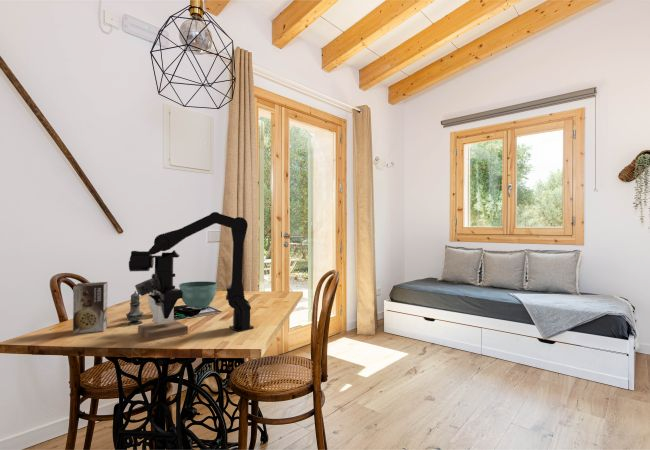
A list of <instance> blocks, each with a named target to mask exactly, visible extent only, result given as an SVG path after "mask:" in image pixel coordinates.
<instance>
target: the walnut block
mask: <svg viewBox="0 0 650 450" xmlns="http://www.w3.org/2000/svg"><path fill="white" fill-rule="evenodd" d="M188 328H189V326H188V325H186V324H184V323H182V322H180V321H177V320H176V319H174V321H173V322H169V323H163V324H156V323H155V322H152V323H146V324H145V323H144V324H138V325H137V334H138V335H140V336H142V337H143V338H144V339H146V340H147V341H149V342H153V341H154V342H155V341H157V340H158V341H159V340H163V339H164V340H165V339H169V338H174V337H179V336H183V335H188V330H189V329H188Z"/></svg>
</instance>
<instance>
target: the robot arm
mask: <svg viewBox="0 0 650 450" xmlns="http://www.w3.org/2000/svg"><path fill="white" fill-rule="evenodd" d="M215 224H217V225H220V226H224V227H226V228H230V232H231V238H232V261H231V262H232V264H231V266H232V267H231V280H230V281H231V283H230V285H226V295H225V300H226V301H228V302H227V303H228V306H229V307H230V308H231V309H233V312H232V325H229V327H228V328H230V329H231V330H234V331H237V332H241V331H245V330H250V329H254V328H255V326H253V325H251V309H252V306H251V304H250V302H249V301H248V300H247V299H246V297H245V291H244V285H243V269H244V267H243V266H244V265H243V264H244V243H245V239H246V235H247V231H248V226H249V225H248V221H247V220H246V218H244V217H241V216H238V217H237V216H236V217H232V216H229V215H225V214H223V213H220V212H219V211H218V212H217V211H213V212H211V213H210V214H208V215H207V216H204V217H201V218H200V219H198V220H196V221H194V222H191V223H190V224H187V225H185V226H183V227H181V228H179V229H176V230H175V229H174V230H171V231H167V232H164V233H161V234H158V235H157V236H155V238H154V241H153V245H152V246H151V247H150V248H149V249H148V251H147V250H145V251H144V250H143V251H142V250H140V251H139V250H132V251H131V252H130V257H129V261H128V269H129V272H150V270H151V269H153V268H154V273H152V275H151V278H149V279H147V280H146V279H145V280H144V281H142V282H140V283H138V284H136V285H134V287H135V289H136V290H135V291H136V293H137V294H138V295H139V296H141V297H143V296H146V295H148V296H150V297H151V298H152V299H154V301H155V303H162V306H163V313H164V318H165V319H167V318H168V317H169V315H170V313H171V311H172V309H173V307H175V305H176V303H177V302H178V301H179V300H180V299H182V298H183V291H181V290H180V288H176V285H174V278H176V273H174V258H175V259H176V258H179V257H180V254H179V253H177V251H176V250H172V251H171V252H166V251H169V250H171V249H172V248H174V247H175V246H176V245H178V244H179V243H181V242H182V241H183V240H185V239H186V238H188V237H190V236H193V235H194V234H196V233H198V232H200V231H203V230H206V229H207V228H210V227H211V226H212V225H213V226H214V225H215ZM159 253H161V254H160V255H157V254H159ZM150 292H151V295H149V294H150Z"/></svg>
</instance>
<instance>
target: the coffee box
mask: <svg viewBox="0 0 650 450" xmlns="http://www.w3.org/2000/svg"><path fill="white" fill-rule="evenodd" d="M72 288H73V290H72V293H73V296H72V298H73V299H72V300H73V301H72V303H73V304H72V305H73V309H72V310H73V311H72V314H73V315H72V316H73V317H72V319H73V320H72V334H74V335H76V334H85V333H97V332H105V330H107V327H108V281H102V282H100V281H99V282H98V281H97V282H82V283H81V282H80V283H79V282H78V283H77V284H75V285H74V286H73V287H72Z"/></svg>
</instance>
